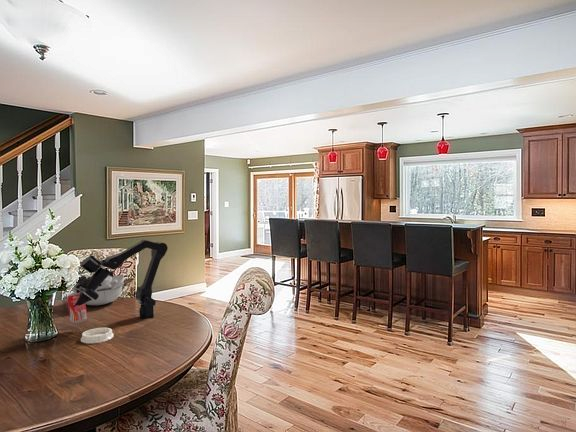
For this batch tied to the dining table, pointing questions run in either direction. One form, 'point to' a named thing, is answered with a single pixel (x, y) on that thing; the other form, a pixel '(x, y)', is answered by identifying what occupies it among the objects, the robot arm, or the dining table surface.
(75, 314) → the soda can
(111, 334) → the white ring
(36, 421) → the dining table surface
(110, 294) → the decorative bowl
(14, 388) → the dining table surface
